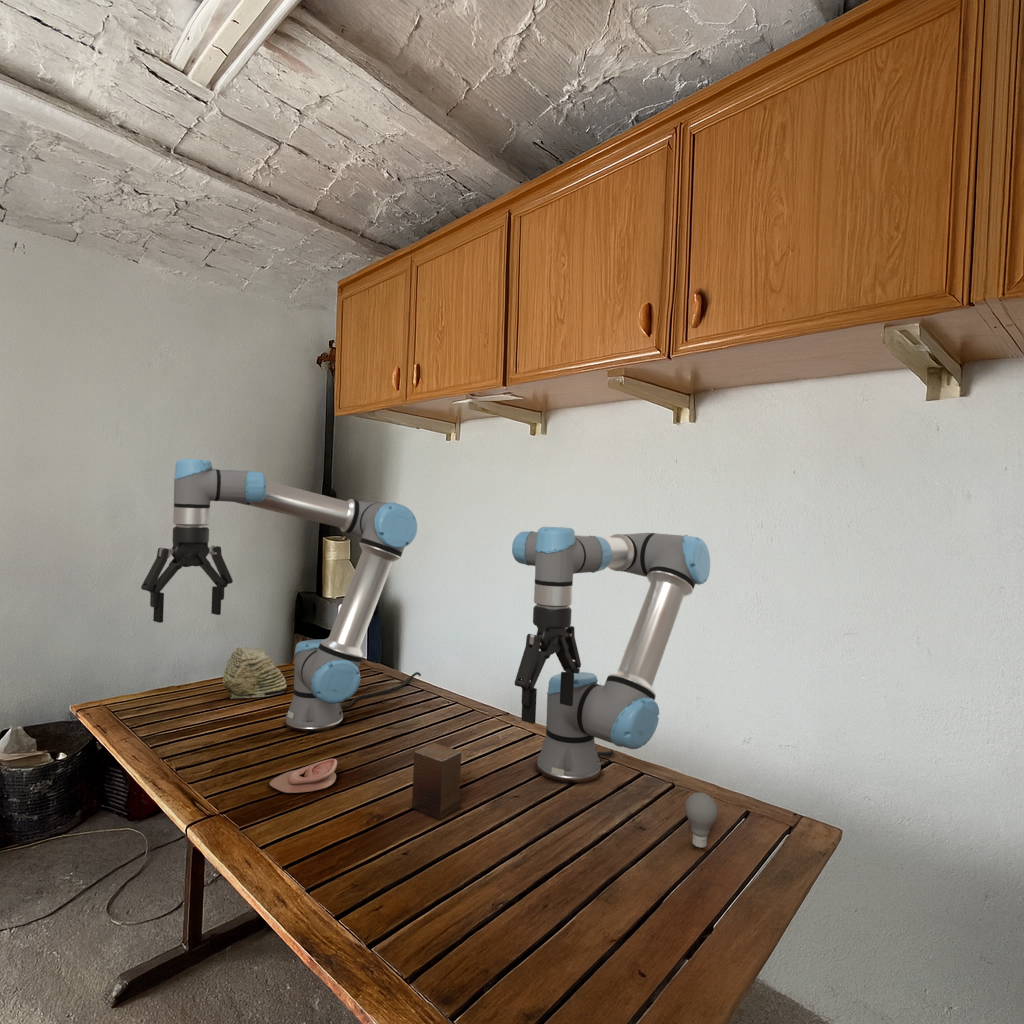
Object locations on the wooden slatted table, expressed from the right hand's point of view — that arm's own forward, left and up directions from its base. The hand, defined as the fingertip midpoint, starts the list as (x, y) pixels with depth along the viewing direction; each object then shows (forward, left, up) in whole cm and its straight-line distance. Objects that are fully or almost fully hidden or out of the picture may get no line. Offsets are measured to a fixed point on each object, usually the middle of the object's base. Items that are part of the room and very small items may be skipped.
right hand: (548, 713), depth 125 cm
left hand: (+54, -66, +11) cm, 86 cm away
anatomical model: (+34, -43, -23) cm, 59 cm away
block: (+14, -18, -23) cm, 32 cm away
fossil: (+27, -110, -23) cm, 116 cm away
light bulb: (-21, +21, -23) cm, 38 cm away
